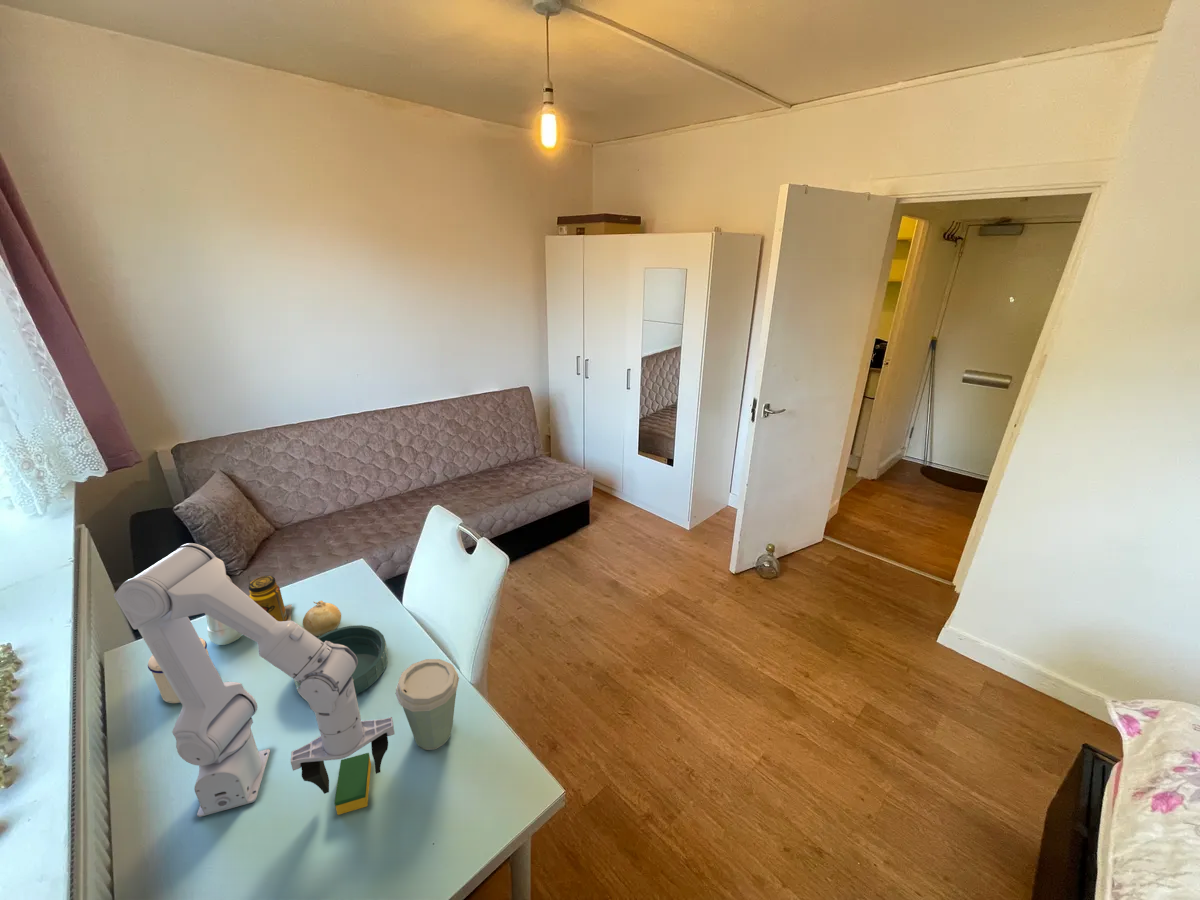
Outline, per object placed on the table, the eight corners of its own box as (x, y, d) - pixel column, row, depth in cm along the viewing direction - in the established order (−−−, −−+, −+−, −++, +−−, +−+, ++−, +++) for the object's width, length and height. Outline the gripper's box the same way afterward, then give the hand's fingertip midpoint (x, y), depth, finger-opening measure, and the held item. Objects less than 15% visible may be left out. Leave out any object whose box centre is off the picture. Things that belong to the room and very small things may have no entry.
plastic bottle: (214, 633, 114) (191, 561, 106) (249, 625, 117) (228, 554, 109) (207, 652, 108) (182, 578, 101) (244, 643, 111) (222, 570, 104)
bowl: (385, 692, 100) (383, 676, 98) (287, 715, 94) (283, 698, 93) (390, 633, 115) (387, 618, 114) (305, 650, 110) (302, 634, 108)
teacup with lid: (225, 682, 101) (210, 638, 97) (170, 713, 94) (152, 667, 90) (201, 656, 107) (186, 614, 103) (148, 684, 100) (130, 639, 96)
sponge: (367, 806, 80) (364, 794, 78) (337, 815, 78) (334, 803, 77) (371, 764, 86) (368, 752, 85) (343, 771, 85) (340, 759, 84)
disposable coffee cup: (442, 701, 98) (435, 644, 93) (475, 733, 92) (470, 673, 87) (393, 738, 91) (382, 677, 85) (425, 775, 84) (416, 712, 79)
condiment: (254, 636, 113) (241, 594, 109) (257, 613, 120) (246, 573, 116) (290, 626, 117) (279, 585, 112) (292, 605, 124) (282, 565, 119)
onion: (350, 623, 118) (345, 599, 116) (322, 645, 111) (316, 620, 109) (326, 614, 121) (321, 590, 118) (297, 635, 114) (291, 611, 111)
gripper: (387, 683, 82) (397, 740, 87) (287, 715, 76) (304, 774, 81) (390, 716, 77) (401, 775, 82) (283, 753, 70) (301, 814, 75)
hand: (352, 777), depth 81 cm, fingers open, 7 cm apart
